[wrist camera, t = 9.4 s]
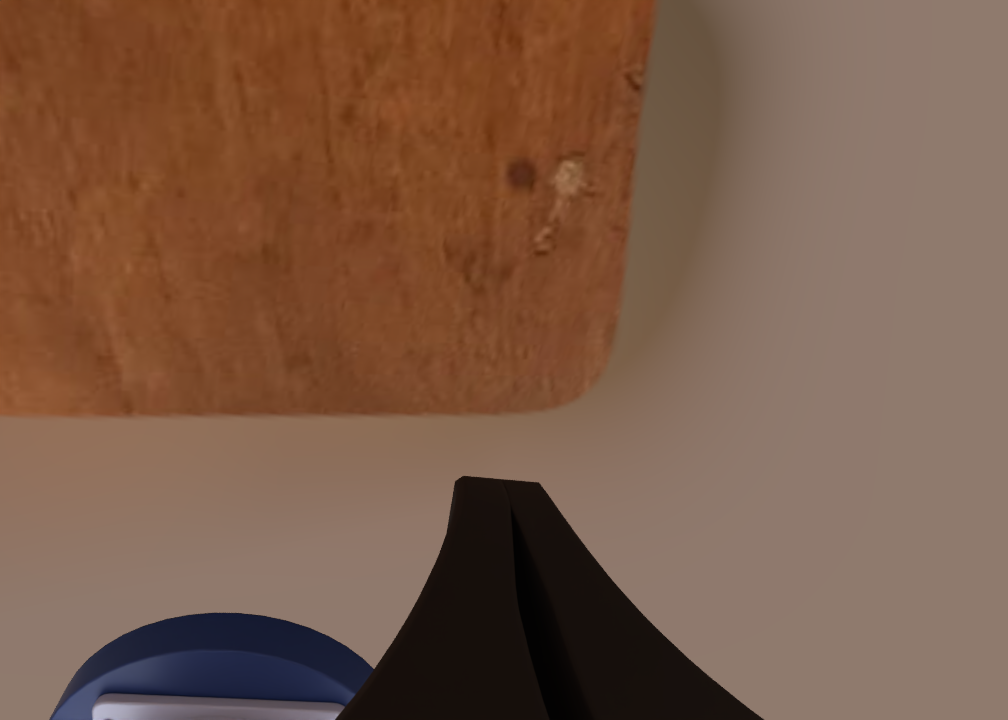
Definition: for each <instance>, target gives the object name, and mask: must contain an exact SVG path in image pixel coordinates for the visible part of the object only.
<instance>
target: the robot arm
mask: <svg viewBox="0 0 1008 720" xmlns="http://www.w3.org/2000/svg"><path fill="white" fill-rule="evenodd" d="M92 718H93V720H764V719H762V718H761V717H760V716H758V715H757V714H755V713H754V712H753V711H752V710H750V709H749V708H747V707H746V706H745V705H744V704H742V703H741V702H740V701H739V700H737V699H736V698H735V697H734V696H733V695H731V694H730V693H729V692H728V691H726V690H725V689H724V688H723V687H721V686H720V685H719V684H718V683H717V682H715V681H714V680H712V678H710V677H709V676H708V675H707V674H706V673H704V672H703V671H702V670H701V669H700V668H699V667H698V666H696V665H695V664H694V663H693V662H692V661H691V660H689V659H688V658H687V657H686V656H685V655H684V654H683V653H682V652H681V651H680V650H679V649H678V648H677V647H676V646H675V645H674V644H672V643H671V642H670V641H669V640H668V639H667V638H666V637H665V636H664V635H663V634H662V633H661V632H660V631H659V630H658V629H657V628H656V627H655V626H654V625H653V624H652V623H651V622H650V621H649V620H648V619H647V618H646V617H645V616H643V614H642V613H641V612H640V611H639V610H638V609H637V608H636V606H635V605H634V604H633V603H632V602H631V601H630V600H629V599H628V598H627V596H626V595H625V594H624V593H623V592H622V591H621V590H620V589H619V588H618V586H617V585H616V584H615V583H614V582H613V581H612V579H611V578H610V577H609V576H608V575H607V573H606V572H605V571H604V570H603V568H602V567H601V566H600V565H599V563H598V562H597V561H596V559H595V558H594V557H593V556H592V554H591V553H590V552H589V551H588V550H587V548H586V547H585V545H584V544H583V543H582V541H581V540H580V539H579V537H578V536H577V535H576V533H575V532H574V531H573V529H572V528H571V526H570V525H569V524H568V522H567V521H566V519H565V518H564V517H563V515H562V514H561V512H560V511H559V510H558V508H557V507H556V505H555V504H554V502H553V501H552V500H551V498H550V497H549V495H548V494H547V493H546V491H545V490H544V489H543V487H541V485H540V484H539V483H537V482H525V481H515V480H503V479H493V478H481V477H470V476H462V477H461V478H459V479H458V480H457V481H455V485H454V492H453V498H452V504H451V510H450V516H449V522H448V528H447V534H446V537H445V539H444V542H443V545H442V548H441V550H440V553H439V556H438V558H437V560H436V563H435V565H434V567H433V569H432V571H431V573H430V575H429V577H428V580H427V582H426V584H425V586H424V588H423V590H422V592H421V594H420V596H419V598H418V600H417V602H416V603H415V605H414V607H413V609H412V611H411V613H410V614H409V616H408V618H407V620H406V621H405V623H404V625H403V626H402V628H401V630H400V631H399V633H398V635H397V636H396V638H395V639H394V641H393V643H392V644H391V645H390V647H389V648H388V650H387V651H386V653H385V654H384V656H383V657H382V659H381V660H380V662H379V663H378V665H377V666H376V668H375V669H374V670H373V672H372V673H371V675H370V676H369V677H368V679H367V680H366V681H365V683H364V684H363V685H362V687H361V688H360V689H359V691H358V692H357V693H356V694H355V696H354V697H353V698H352V699H351V700H350V702H349V703H348V704H347V705H346V707H345V706H343V705H341V704H338V703H329V702H305V701H282V700H259V699H236V698H213V697H189V696H166V695H143V694H120V693H108V694H104V695H101V696H100V697H99V698H98V699H97V700H96V702H95V704H94V706H93V709H92Z"/></svg>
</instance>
